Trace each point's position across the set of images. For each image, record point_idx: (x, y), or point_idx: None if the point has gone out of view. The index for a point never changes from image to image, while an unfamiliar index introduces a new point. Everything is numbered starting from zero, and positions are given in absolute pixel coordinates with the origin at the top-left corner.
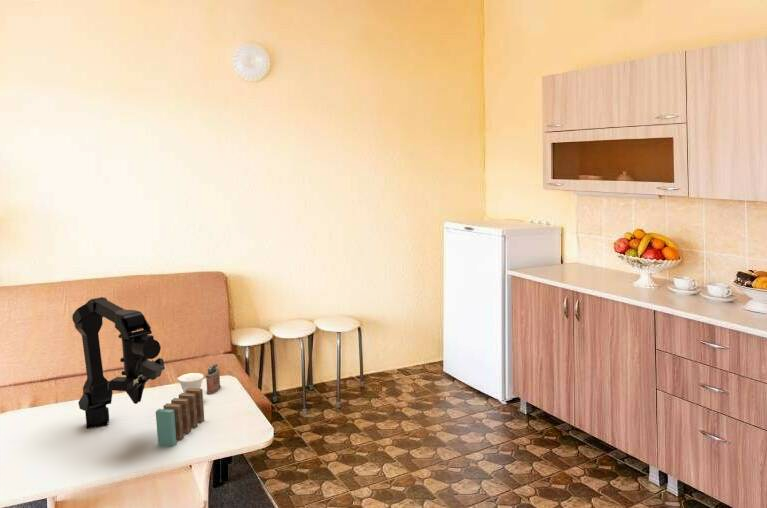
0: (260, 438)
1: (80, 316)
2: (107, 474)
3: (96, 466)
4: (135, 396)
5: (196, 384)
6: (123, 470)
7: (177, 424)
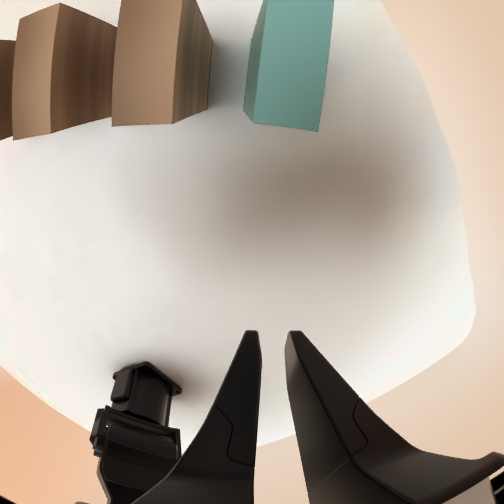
0: None
1: None
2: (460, 201)
3: (414, 256)
4: (344, 388)
5: None
6: (449, 164)
7: (204, 31)
